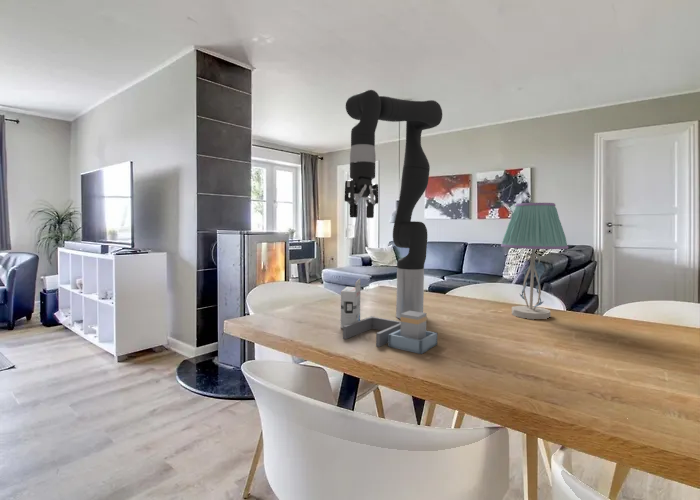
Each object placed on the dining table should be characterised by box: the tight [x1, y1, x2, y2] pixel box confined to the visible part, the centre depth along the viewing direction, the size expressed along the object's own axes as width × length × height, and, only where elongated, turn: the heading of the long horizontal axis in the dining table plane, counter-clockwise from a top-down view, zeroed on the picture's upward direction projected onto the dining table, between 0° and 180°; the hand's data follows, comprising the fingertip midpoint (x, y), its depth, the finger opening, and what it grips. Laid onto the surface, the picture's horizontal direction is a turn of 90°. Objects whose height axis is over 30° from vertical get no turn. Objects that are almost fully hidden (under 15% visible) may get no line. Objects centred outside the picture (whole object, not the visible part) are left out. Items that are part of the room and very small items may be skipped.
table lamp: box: [500, 202, 569, 320], centre depth 134 cm, size 22×22×40 cm
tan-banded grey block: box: [399, 311, 428, 340], centre depth 100 cm, size 5×5×8 cm
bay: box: [342, 315, 401, 348], centre depth 108 cm, size 14×12×4 cm
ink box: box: [340, 278, 362, 329], centre depth 119 cm, size 9×5×15 cm, turn 168°
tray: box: [387, 329, 438, 355], centre depth 100 cm, size 10×10×3 cm
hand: (362, 217), depth 112 cm, fingers open, 8 cm apart
